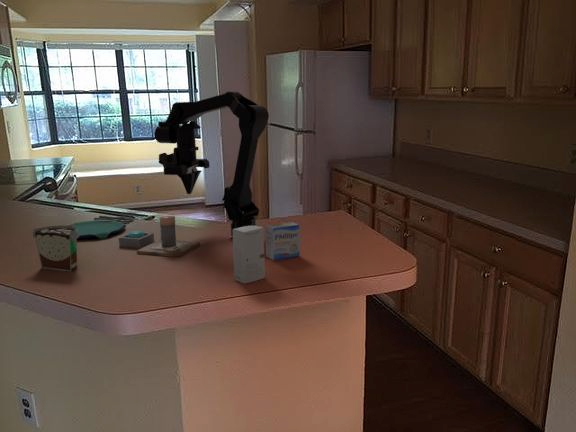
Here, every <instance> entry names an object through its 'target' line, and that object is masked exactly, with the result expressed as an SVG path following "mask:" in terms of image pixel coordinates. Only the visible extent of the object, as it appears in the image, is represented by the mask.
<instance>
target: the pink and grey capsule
mask: <svg viewBox="0 0 576 432" xmlns="http://www.w3.org/2000/svg"><path fill="white" fill-rule="evenodd" d="M159 226H160V239H161V244H162V247H172V246H176V240H177V235H176V216H174V215H164V216H160V217H159Z"/></svg>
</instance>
